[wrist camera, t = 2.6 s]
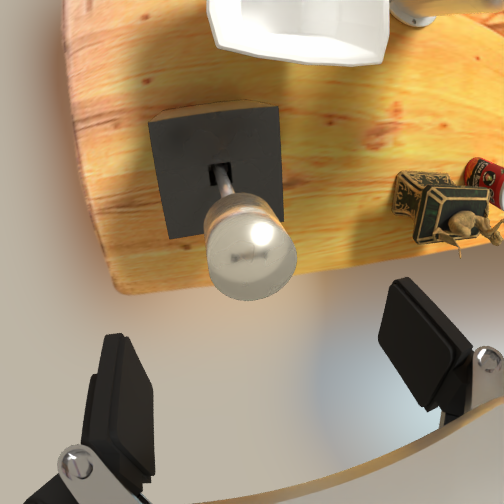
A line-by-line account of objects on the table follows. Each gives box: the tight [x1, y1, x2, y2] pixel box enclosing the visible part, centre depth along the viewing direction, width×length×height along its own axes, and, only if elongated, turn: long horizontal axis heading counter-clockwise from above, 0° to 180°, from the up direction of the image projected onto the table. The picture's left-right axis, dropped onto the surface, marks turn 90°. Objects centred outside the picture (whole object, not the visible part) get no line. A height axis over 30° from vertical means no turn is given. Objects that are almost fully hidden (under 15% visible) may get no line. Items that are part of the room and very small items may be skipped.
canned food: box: [464, 157, 504, 211], centre depth 46 cm, size 8×8×11 cm
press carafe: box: [148, 99, 284, 239], centre depth 34 cm, size 14×11×16 cm
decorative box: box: [392, 171, 504, 259], centre depth 42 cm, size 20×10×20 cm, turn 90°
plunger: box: [204, 162, 297, 301], centre depth 23 cm, size 9×9×20 cm
